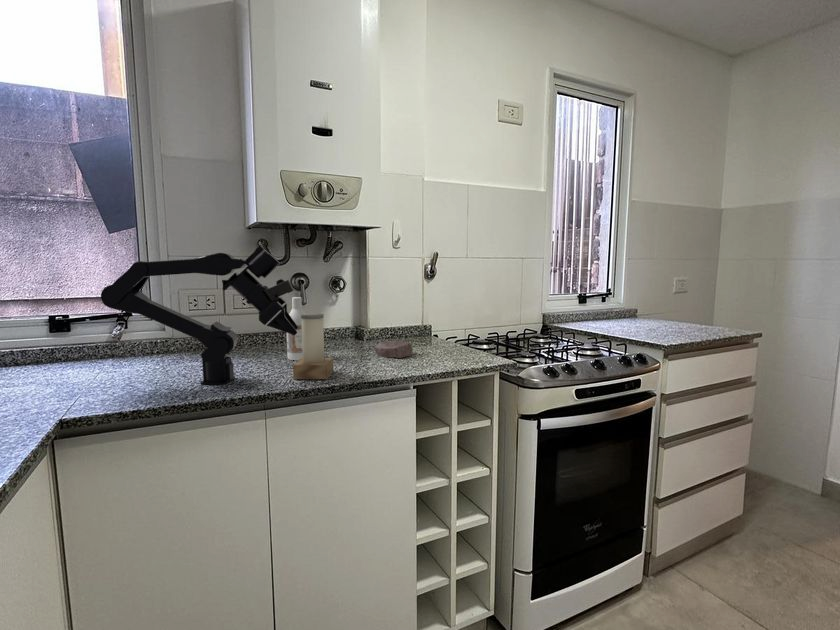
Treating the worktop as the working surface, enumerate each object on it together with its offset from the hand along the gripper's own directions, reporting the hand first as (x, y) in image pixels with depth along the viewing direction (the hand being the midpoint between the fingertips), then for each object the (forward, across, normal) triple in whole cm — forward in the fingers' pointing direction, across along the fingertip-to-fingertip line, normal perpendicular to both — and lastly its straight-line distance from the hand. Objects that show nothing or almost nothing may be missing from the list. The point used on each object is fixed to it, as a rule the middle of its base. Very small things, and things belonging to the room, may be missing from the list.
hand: (296, 331), depth 119 cm
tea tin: (+9, 0, +3) cm, 10 cm away
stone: (+31, +21, -13) cm, 39 cm away
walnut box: (+12, 0, +6) cm, 13 cm away
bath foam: (+9, +23, +9) cm, 26 cm away
